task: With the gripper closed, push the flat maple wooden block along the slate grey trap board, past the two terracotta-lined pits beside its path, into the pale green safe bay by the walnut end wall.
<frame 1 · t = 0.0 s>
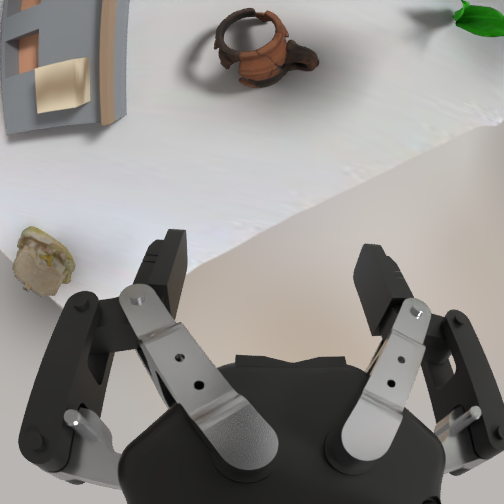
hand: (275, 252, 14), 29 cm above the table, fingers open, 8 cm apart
ceramic model: (48, 254, 51), on the table
brown curved piece: (264, 51, 32), on the table
trap board: (66, 18, 26), on the table
maple block: (70, 82, 29), point 4 cm above the table, touching trap board
flower: (453, 17, 25), on the table
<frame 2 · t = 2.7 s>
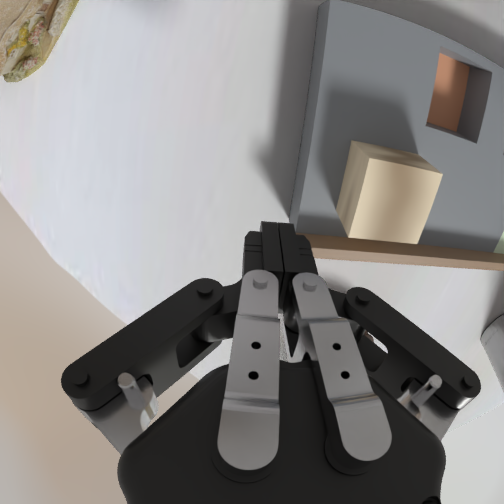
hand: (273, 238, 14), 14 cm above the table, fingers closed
ceramic model: (30, 19, 16), on the table
trap board: (455, 150, 24), on the table
maple block: (378, 181, 23), point 4 cm above the table, touching trap board
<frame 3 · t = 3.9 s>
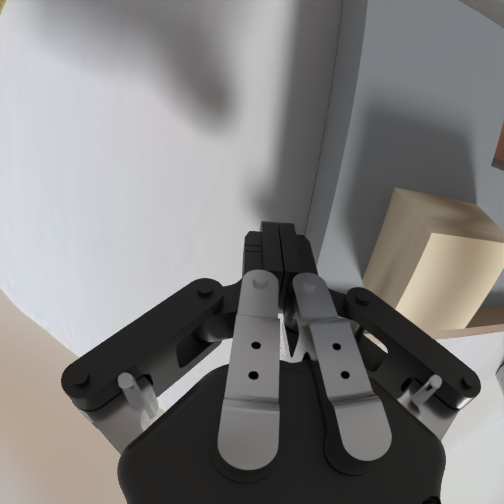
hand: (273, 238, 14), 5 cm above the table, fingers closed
maple block: (422, 242, 15), point 4 cm above the table, touching trap board
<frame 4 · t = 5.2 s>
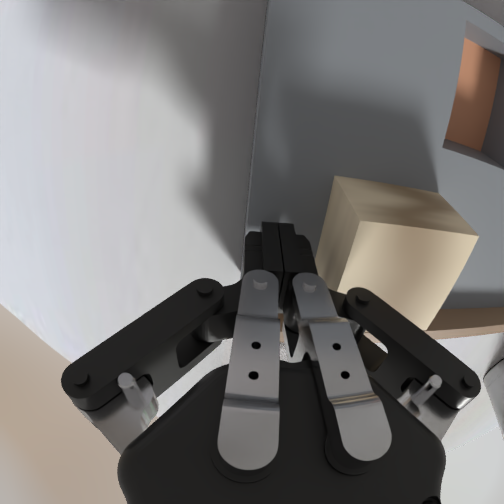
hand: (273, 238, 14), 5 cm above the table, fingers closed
trap board: (477, 177, 17), on the table
maple block: (375, 235, 15), point 4 cm above the table, touching gripper
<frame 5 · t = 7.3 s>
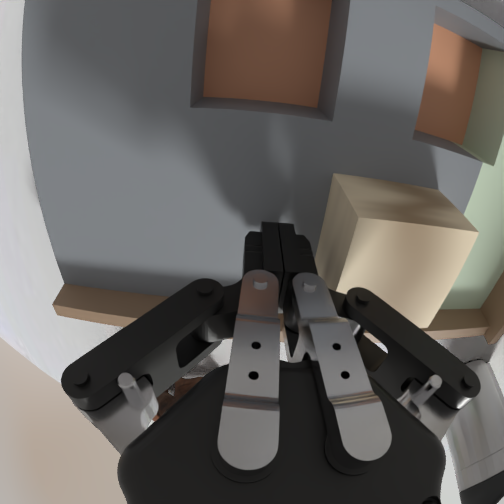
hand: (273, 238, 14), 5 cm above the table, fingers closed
brown curved piece: (185, 379, 32), on the table
trap board: (327, 142, 16), on the table
maple block: (375, 233, 15), point 4 cm above the table, touching gripper
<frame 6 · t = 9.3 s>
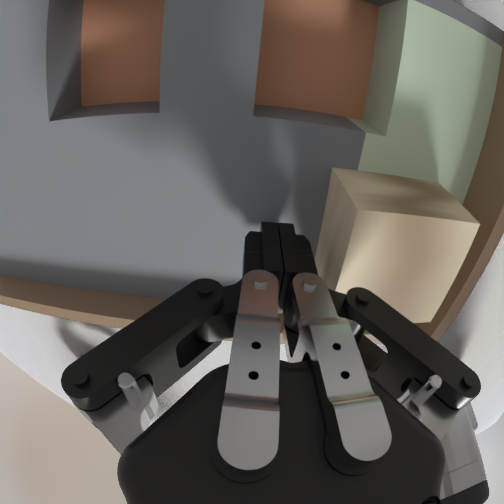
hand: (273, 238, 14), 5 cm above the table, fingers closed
trap board: (196, 133, 16), on the table
maple block: (376, 227, 15), point 4 cm above the table, touching gripper, trap board
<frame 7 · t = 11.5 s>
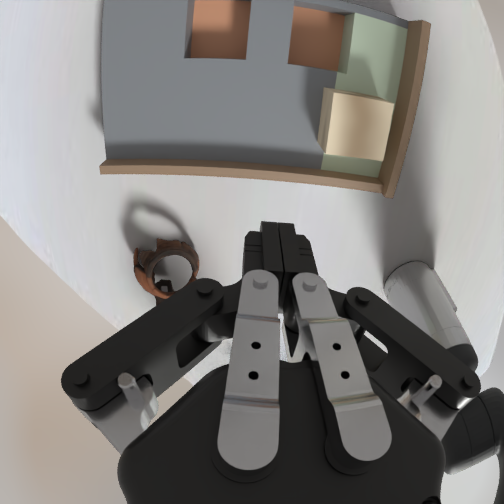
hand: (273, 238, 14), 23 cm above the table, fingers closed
brown curved piece: (167, 260, 45), on the table
trap board: (254, 76, 29), on the table
maple block: (348, 118, 28), point 4 cm above the table, touching trap board
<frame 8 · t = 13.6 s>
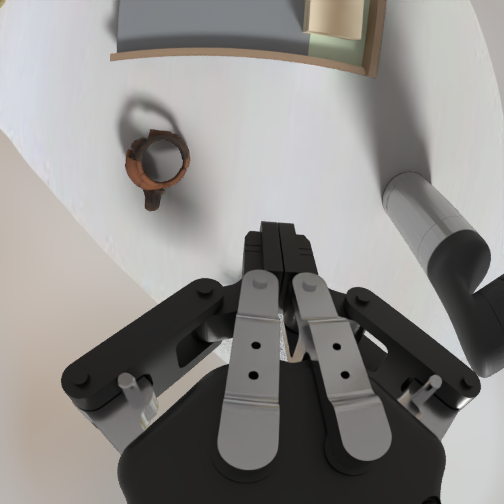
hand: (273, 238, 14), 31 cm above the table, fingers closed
brown curved piece: (159, 162, 44), on the table
maple block: (328, 15, 27), point 4 cm above the table, touching trap board
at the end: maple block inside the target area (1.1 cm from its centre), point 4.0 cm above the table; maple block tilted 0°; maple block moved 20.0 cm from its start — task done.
